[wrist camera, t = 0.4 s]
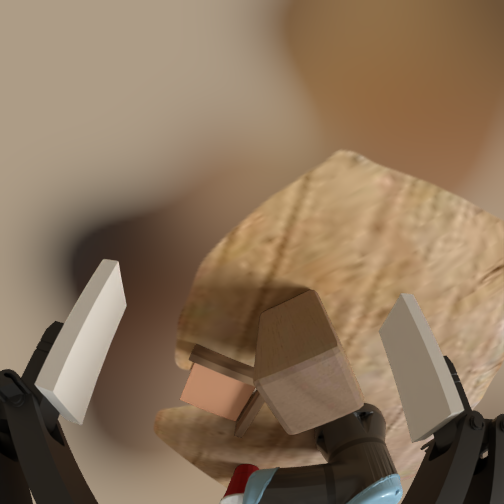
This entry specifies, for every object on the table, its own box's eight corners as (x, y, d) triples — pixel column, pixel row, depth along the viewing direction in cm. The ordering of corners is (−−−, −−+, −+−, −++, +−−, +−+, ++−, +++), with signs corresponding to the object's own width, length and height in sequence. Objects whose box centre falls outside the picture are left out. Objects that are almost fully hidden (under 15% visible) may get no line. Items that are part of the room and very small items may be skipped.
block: (283, 359, 48) (288, 440, 28) (257, 312, 47) (248, 382, 27) (336, 335, 47) (368, 408, 27) (313, 285, 46) (341, 343, 26)
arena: (274, 375, 49) (274, 386, 45) (242, 426, 51) (241, 437, 48) (196, 343, 49) (191, 353, 45) (174, 399, 51) (169, 410, 48)
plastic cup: (280, 471, 54) (280, 509, 42) (246, 485, 55) (242, 520, 44) (250, 451, 53) (246, 492, 41) (216, 466, 55) (208, 503, 43)
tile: (259, 379, 49) (259, 380, 49) (235, 420, 51) (235, 421, 51) (197, 354, 49) (197, 355, 49) (179, 398, 51) (179, 399, 51)
